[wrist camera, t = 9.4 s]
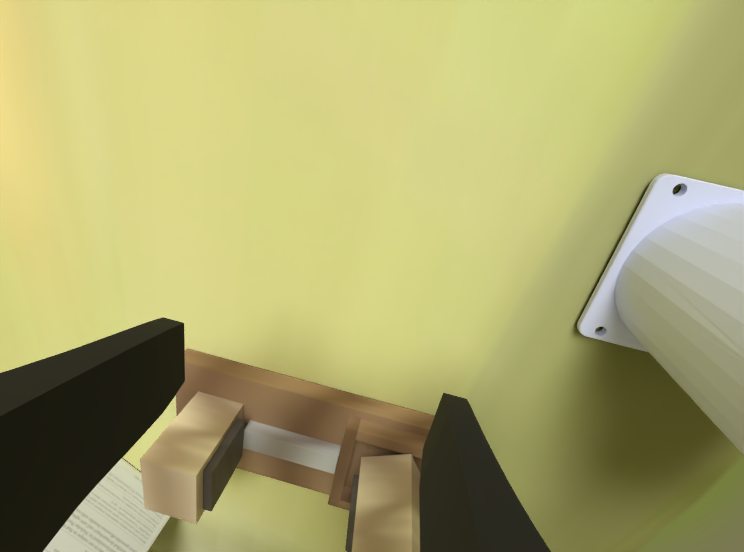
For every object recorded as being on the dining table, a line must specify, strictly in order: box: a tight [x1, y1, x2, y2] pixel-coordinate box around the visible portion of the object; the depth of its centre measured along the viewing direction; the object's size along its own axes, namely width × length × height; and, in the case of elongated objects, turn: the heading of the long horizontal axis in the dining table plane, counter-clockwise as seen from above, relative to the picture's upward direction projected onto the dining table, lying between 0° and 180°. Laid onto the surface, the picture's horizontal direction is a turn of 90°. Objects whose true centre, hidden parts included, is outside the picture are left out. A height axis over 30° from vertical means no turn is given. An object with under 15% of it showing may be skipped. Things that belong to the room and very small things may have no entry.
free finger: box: [345, 454, 421, 552], centre depth 20 cm, size 4×4×5 cm
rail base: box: [140, 349, 435, 524], centre depth 22 cm, size 18×8×6 cm, turn 78°
